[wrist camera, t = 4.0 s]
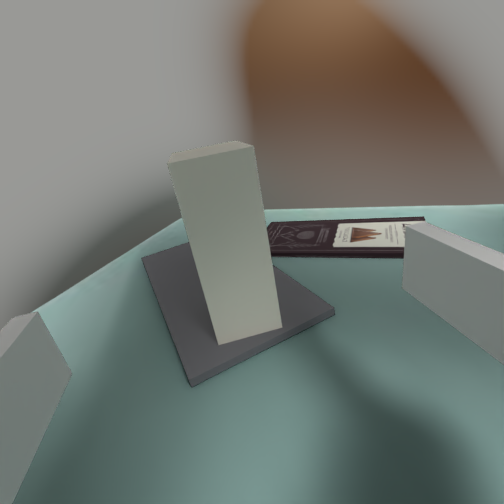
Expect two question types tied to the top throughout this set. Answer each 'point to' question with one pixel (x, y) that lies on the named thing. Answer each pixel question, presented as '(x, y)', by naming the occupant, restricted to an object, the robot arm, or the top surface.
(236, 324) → the card box
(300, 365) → the top surface
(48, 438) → the top surface
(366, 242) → the chocolate bar
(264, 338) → the mat
